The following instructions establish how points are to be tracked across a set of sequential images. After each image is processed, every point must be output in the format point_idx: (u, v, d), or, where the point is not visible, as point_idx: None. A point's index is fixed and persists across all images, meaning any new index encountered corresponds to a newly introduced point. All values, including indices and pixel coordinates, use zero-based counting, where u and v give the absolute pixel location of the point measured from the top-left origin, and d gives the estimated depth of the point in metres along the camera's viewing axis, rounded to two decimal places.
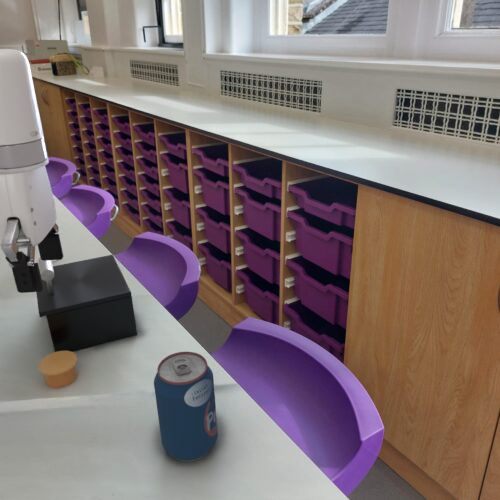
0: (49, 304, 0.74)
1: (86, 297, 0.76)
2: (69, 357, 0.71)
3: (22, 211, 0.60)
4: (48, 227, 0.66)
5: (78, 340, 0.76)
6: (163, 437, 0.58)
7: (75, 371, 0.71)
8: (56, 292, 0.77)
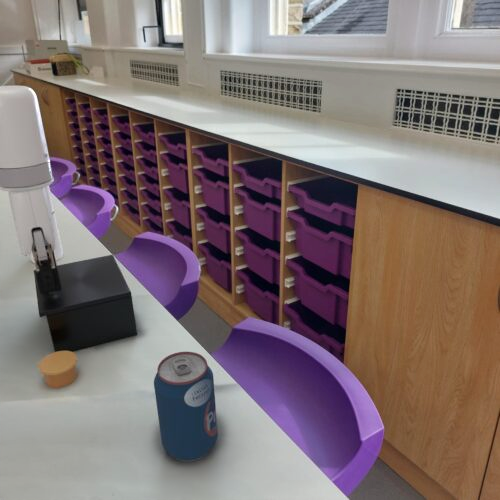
0: (49, 304, 0.74)
1: (86, 297, 0.76)
2: (69, 357, 0.71)
3: (44, 221, 0.70)
4: None
5: (78, 340, 0.76)
6: (163, 437, 0.58)
7: (75, 371, 0.71)
8: (56, 292, 0.77)
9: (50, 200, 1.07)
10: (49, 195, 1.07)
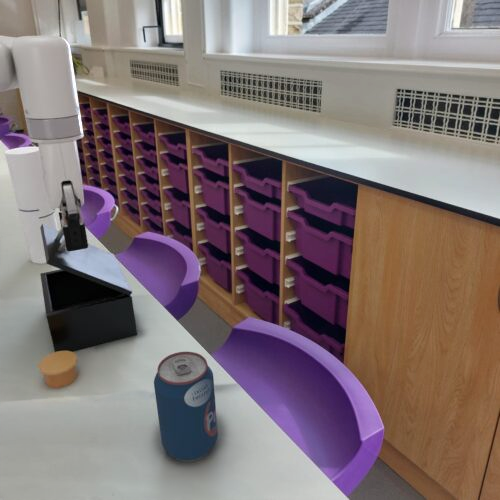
0: (58, 258, 0.72)
1: (92, 272, 0.75)
2: (69, 357, 0.71)
3: (74, 175, 0.70)
4: None
5: (78, 340, 0.76)
6: (163, 437, 0.58)
7: (75, 371, 0.71)
8: (65, 253, 0.76)
9: None
10: None
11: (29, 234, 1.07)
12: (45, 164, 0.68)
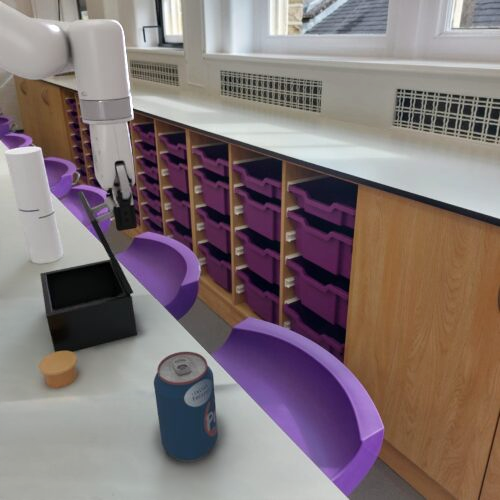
0: (98, 224, 0.73)
1: (114, 254, 0.75)
2: (69, 357, 0.71)
3: (127, 155, 0.72)
4: None
5: (78, 340, 0.76)
6: (163, 437, 0.58)
7: (75, 371, 0.71)
8: None
9: (50, 200, 1.07)
10: (49, 195, 1.07)
11: (29, 234, 1.07)
12: (100, 144, 0.70)
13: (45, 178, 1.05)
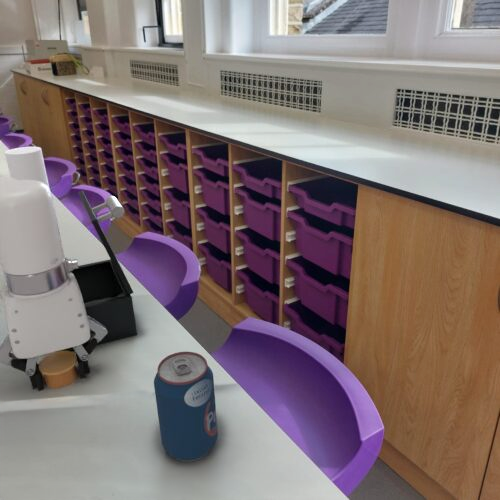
0: None
1: None
2: (69, 357, 0.71)
3: (7, 327, 0.64)
4: (55, 347, 0.66)
5: None
6: (163, 437, 0.58)
7: (75, 371, 0.71)
8: None
9: None
10: None
11: None
12: None
13: (45, 178, 1.05)
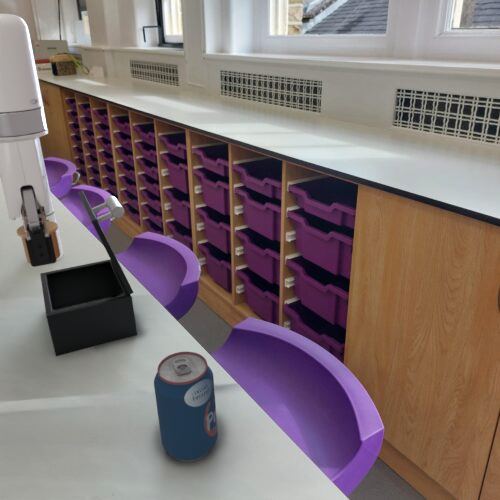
0: None
1: None
2: None
3: (36, 178, 0.59)
4: None
5: (78, 340, 0.76)
6: (163, 437, 0.58)
7: None
8: None
9: (50, 200, 1.07)
10: (49, 195, 1.07)
11: None
12: (0, 166, 0.58)
13: None
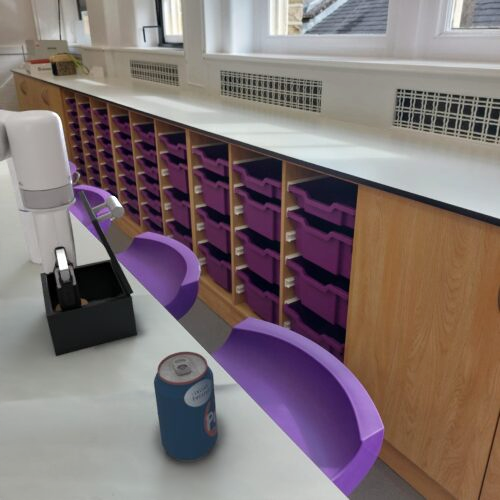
0: None
1: None
2: None
3: (67, 241, 0.73)
4: None
5: (78, 340, 0.76)
6: (163, 437, 0.58)
7: None
8: None
9: None
10: None
11: (29, 234, 1.07)
12: (39, 232, 0.71)
13: None
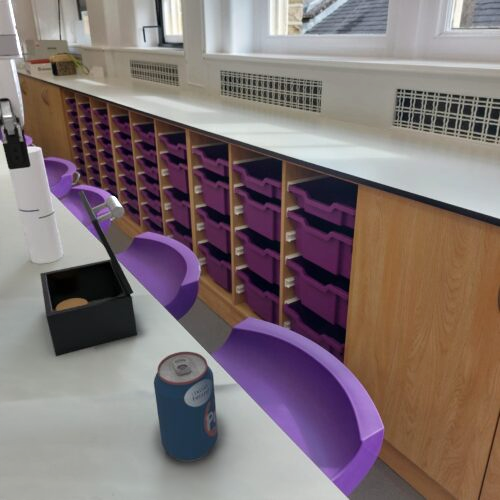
0: None
1: None
2: (69, 301, 0.83)
3: (12, 93, 0.72)
4: None
5: (78, 340, 0.76)
6: (163, 437, 0.58)
7: None
8: None
9: (50, 200, 1.07)
10: (49, 195, 1.07)
11: (29, 234, 1.07)
12: None
13: (45, 178, 1.05)
